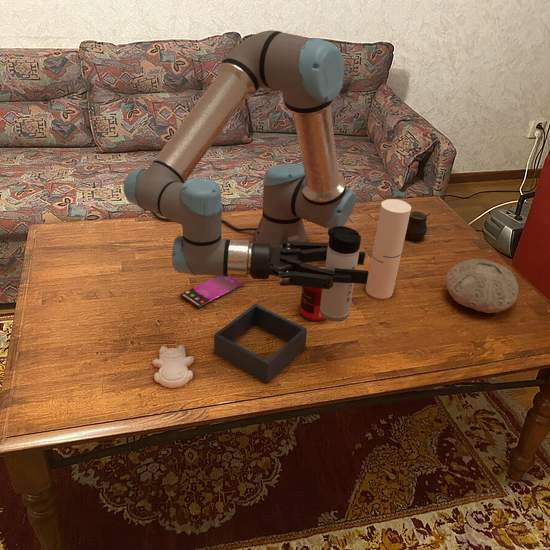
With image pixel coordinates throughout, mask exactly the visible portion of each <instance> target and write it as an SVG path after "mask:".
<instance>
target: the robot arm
mask: <svg viewBox="0 0 550 550" xmlns="http://www.w3.org/2000/svg"><path fill="white" fill-rule="evenodd" d="M345 67H346V66H345V60H344V57H343V54H342V52H341V50H340V48H339V47H338V46H337V45H336V44H335V43H333V42H330V41H327V40H324V39H322V38H319V37H307V36H302V35H297V34H294V33H293V34H292V33H288V32H283V31H279V30H274V29H273V30H271V29H270V30H269V29H268V30H264V31H261V32H257V33H255V34H253V35H251V36H249V37H247V38H246V39H244V40H243V41H241V42H240V43H238V44H237V45H236V46H235V47H234V48H233V49H232V50H230V52H228V53H227V55H226V56H225V57H224V59H223V60H222V61H221V62H220V63H219V65H218V66H217V69H216V73H217V76H216V77H215V78H214V80H213V81H212V82H211V84H209V86H208V88H207V89H206V90H205V91H204V93H203V94H202V96H201V97H200V99H198V101H197V103H195V105H194V107H192V109H191V110H190V112H189V113H188V114H187V116H186V117H185V118H184V119H183V121H182V122H181V123H180V125H179V126H178V128H176V130H175V132H174V133H173V135H172V136H171V137H170V138H169V140H168V141H167V142H166V144H165V145H164V146H163V148H162V149H161V150H160V151H159V153H158V154H157V156H156V157H155V158H154V160H153V161H152V162H151V164H150V165H149V166H148V167H147V168H145V167H143V168H142V167H136V168H135V169H133V170H130V171H129V172H128V174H127V175H126V176H125V179H124V181H123V194H124V196H125V198H126V200H127V201H129V203H131V204H133V205H135V206H137V207H139V208H140V209H142V210H143V212H147V211H148V212H150V213H151V214H152V215H153V217H155V218H157V219H158V220H161V221H166V222H167V221H168V222H173V223H177V224H179V225H181V227H182V228H181V230H182V235H177V236H176V237H175V238H174V239H173V243H172V249H171V264H172V268H173V270H174V271H175V272H176V273H179V274H187V275H192V276H214V277H217V276H227V277H228V276H229V277H232V278H244V279H247V278H248V277H249V276H250V278H252V279H254V280H268V279H269V278H270V276H274V277H278V278H279V286H281V287H285V286H286V287H287V286H296V287H302V286H303V287H312V288H321V289H330V288H331V287H333V283H335V282H336V283H354V284H360V285H366V284H367V279H368V274H369V270H365V269H364V270H363V269H356V270H353V269H339V268H335V272H334V271H332V270H328V269H323V268H324V267H323V268H319V267H320V266H315V265H311V264H308V263H316V262H326V256H327V249H328V243H329V242H315V241H313V242H312V241H307V233H306V229H305V224H304V221H307V222H309V223H312V224H315V225H317V226H319V227H322V228H324V229H331V228H333V227H335V226H344V227H345V225H346V224H347V223H348V221H349V219H350V217H351V215H352V214H353V211H354V209H355V207H356V202H357V193H356V192H355V191H354V190H353V189H352V188H347V182H346V178H345V177H344V175H343V174H342V173H340V172H339V167H338V166H339V165H338V158H337V151H336V149H337V148H336V141H335V133H334V125H333V117H332V116H333V115H332V109H331V107H332V106H331V105H332V104H333V103H334V102H335V99H336V98H337V97H338V96H339V94H340V93H341V91H342V88H343V85H344V77H345V74H346V73H345V72H346V70H345ZM263 88H268V89H272V90H275V91H279V92H281V93H282V99H283V104H284V107H285V108H286V109H287V110H288V111H289V112H291V113H292V115H293V122H294V127H295V133H296V136H297V142H298V147H299V152H300V158H301V163H302V164H299V163H293V162H292V163H291V162H287V163H279V164H275V165H272V166H270V167H269V168H267V169H266V171H265V173H264V177H263V183H262V185H263V189H262V190H263V191H262V215H261V218H260V220H259V222H258V225H257V227H245V228H239V227H236V226H233V225H232V224H230V223H229V222H228V221H226V220H224V219H222V216H223V215H222V214H223V212H222V211H223V201H222V189H221V186H220V185H219V184H218V183H217V182H216V181H215V180H212V179H210V178H202V177H196V178H191V179H189V177H190V176H191V174H192V173H193V172H194V170H195V169H196V168H197V166H198V165H199V164H200V162H201V160H203V158H204V156H205V155H206V154H207V153H208V151H209V149H210V148H211V147H212V145H214V143H215V141H216V140H217V139H218V137H219V136H220V135H221V133H222V132H223V130H224V129H225V127H226V126H228V123H229V122H230V121H231V120H232V119H233V117H234V115H235V114H236V112H237V111H238V110H239V108H240V107H241V105H242V104H243V103H244V102H245V100H246V99H251V98H253V97H254V96H255V95H256V93H257V92H258V90H260V89H263ZM222 223H224V224H225V225H226V226H228V227H229V228H230V229H232V230H234V231H238V232H247V231H251V232H252V231H253V232H254V231H255V234H254V241H253V242H252V243H251V240H247V239H227V238H222ZM365 258H366V252H365V251H359V257H358V263H357V266H364V264H365Z"/></svg>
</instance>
